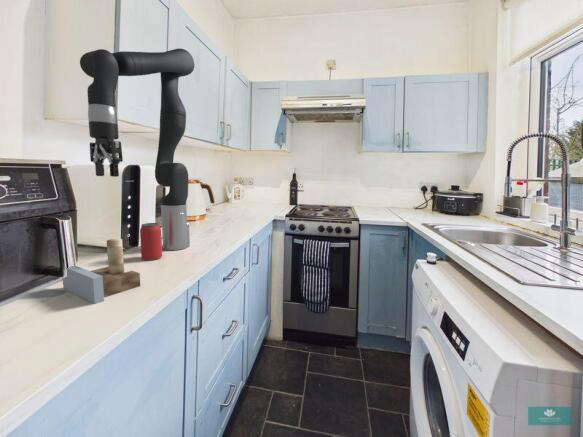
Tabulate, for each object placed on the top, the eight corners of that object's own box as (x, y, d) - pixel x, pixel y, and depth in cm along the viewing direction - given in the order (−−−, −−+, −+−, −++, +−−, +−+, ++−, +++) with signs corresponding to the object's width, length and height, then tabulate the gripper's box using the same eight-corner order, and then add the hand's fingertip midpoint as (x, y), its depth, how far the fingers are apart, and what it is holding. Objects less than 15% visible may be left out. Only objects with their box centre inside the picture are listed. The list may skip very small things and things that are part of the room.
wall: (72, 285, 78) (70, 263, 77) (104, 300, 70) (102, 276, 69) (63, 288, 76) (61, 265, 75) (94, 303, 68) (92, 278, 67)
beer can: (144, 262, 100) (142, 226, 98) (139, 257, 105) (137, 223, 103) (164, 258, 104) (163, 224, 102) (159, 254, 109) (157, 222, 107)
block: (115, 276, 85) (115, 264, 85) (140, 285, 79) (139, 273, 78) (76, 287, 77) (74, 274, 76) (99, 298, 71) (98, 284, 70)
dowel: (120, 281, 82) (117, 238, 80) (127, 283, 80) (124, 240, 79) (107, 284, 79) (103, 240, 77) (114, 287, 77) (111, 242, 76)
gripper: (128, 122, 90) (132, 176, 92) (104, 125, 97) (107, 175, 100) (102, 118, 84) (106, 176, 86) (78, 122, 91) (82, 175, 94)
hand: (107, 176), depth 93 cm, fingers open, 8 cm apart
